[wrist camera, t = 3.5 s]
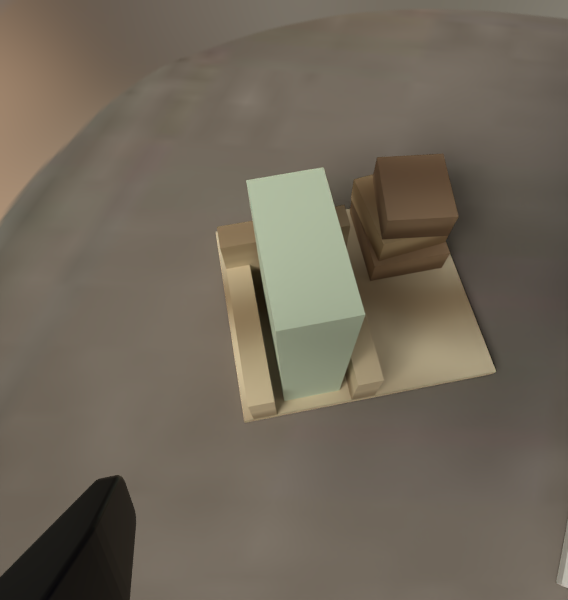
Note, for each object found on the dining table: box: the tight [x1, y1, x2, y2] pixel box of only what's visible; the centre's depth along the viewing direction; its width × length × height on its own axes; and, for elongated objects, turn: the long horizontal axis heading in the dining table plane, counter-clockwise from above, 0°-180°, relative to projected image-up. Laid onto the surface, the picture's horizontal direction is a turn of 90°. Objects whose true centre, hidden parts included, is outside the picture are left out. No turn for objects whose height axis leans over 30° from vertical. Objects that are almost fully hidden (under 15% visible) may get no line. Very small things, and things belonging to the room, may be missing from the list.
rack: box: [216, 154, 496, 423], centre depth 20 cm, size 10×11×5 cm
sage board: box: [246, 168, 365, 401], centre depth 17 cm, size 5×2×8 cm, turn 11°
